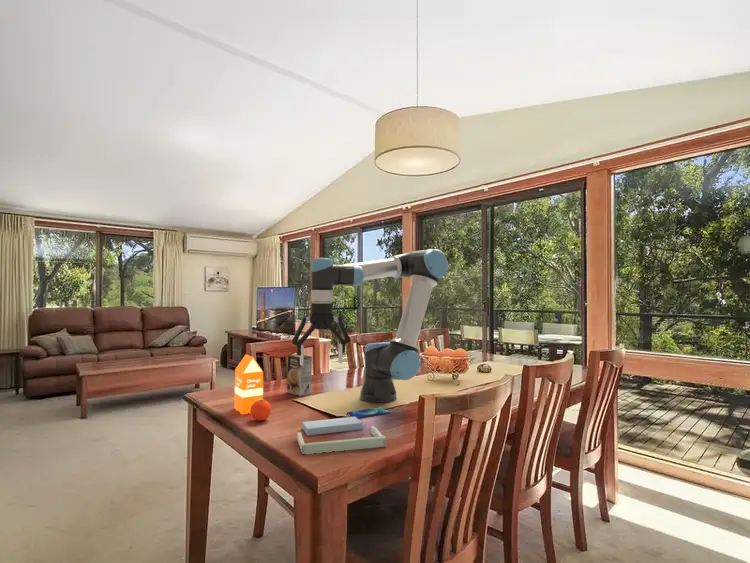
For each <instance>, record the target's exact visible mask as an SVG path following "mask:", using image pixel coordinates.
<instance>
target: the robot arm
mask: <svg viewBox="0 0 750 563" xmlns="http://www.w3.org/2000/svg"><path fill="white" fill-rule="evenodd" d="M310 266H311V270H310V277H311V278H310V279H311V280H310V282H311V284H310V285H311V286H310V287H311V288H310V290H311V292H310V302H312V303H310V317H309V316H307V317H306V316H301V318H300V324H299V326H298V327H297V329H296V331H295V333H294V336H293V337H292V340H291V343H292V344H293V345H295V346H296V355H300V365H301V366H303V355H304V351H305V350H304V345H303V344H304V343H305V341H306V340H307V339H308V338H309V336H310V335H311V334H312V333H313V332H314V331H315V330H318V331H319V330H325V331H326V330H329V331H330V332H331V333H332V334H333V336H334V337H335V338H336V339H337V340H338V341H339V343H338V348H337V349H338V354H337V355H338V356H337V357H338V359H337V360H338V363H339V364H341V365H342V364H343V354H345V353H346V344H348V343H350V342H351V338H350V336H349V334H348V332H347V329H346V328H345V326H344V323H343V319H342V316H340V315H337V316H334V315H333V313H334V311H333V310H334V309H333V308H334V307H333V303H332V302H333V301H334V298H333V297H334V293H333V292H334V286H335V287H336V286H337V287H339V286H341V287H355V286H361V285H362V284H363V282H364V281H370V280H375V279H376V280H377V279H381V278H388V277H392V278H394V279H397V278H399V279H400V278H410V280H411V284H410V288H409V292H408V295H407V299H406V302H405V304H404V308H403V312H402V315H401V317H400V321H399V325H398V328H397V330H396V335H395V337H394V338H392V339H391V340H390V341H387V342H373V343H372V342H370V343H367V344H366V345H365V348H364V349H365V350H364V380H363V383H362V386H361V388H360V393H359V394H360V395H359V396H360V399H361V400H363V401H366V402H371V403H388V402H393V401H395V400H397V390H396V387H395V383H394V380H393V379H395V380H398V381H399V380H401V381H409V380H411V379H412V378H414V377H415V376H417V374H418V372H419V371H420V368H421V363H422V362H421V357H420V354H418V353H419V347H418V344H417V343H418V339H419V336H420V333H421V329H422V326H423V322H424V318H425V315H426V312H427V308H428V304H429V301H430V298H431V294H432V290H433V288H435V287H436V286H438V283H439V280H440V278H443V277H444V276H445V275H446V274H447V273H448V270H449V262H448V259H447V257H446V254H444V252H443V251H441V250H440V249H438V248H435V249H434V248H428V249H421V250H412V251H408V252H405V253H400V254H395V255H392V256H390V257H389V258H384V259H377V260H376V259H375V260H368V261H362V262H361V261H360V262H354V263H344V264H334V259H333V258H330V257H316V258H313V259H312V261H311V265H310ZM308 322H309V323H310V324H311V325H310V326H309V327H308V329H307V330H305V333H303V335H302V332H303V330H304V328H305V326H306V324H308ZM334 322H335V323H336V324H337V326H338V328H339V331H340V332H341V334H342V335H341V334H339V332H338V331H337V330H336V328H335V327H334V326H333V325H332V324H333V323H334ZM301 335H302V336H301ZM300 336H301V337H300Z"/></svg>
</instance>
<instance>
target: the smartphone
mask: <svg viewBox="0 0 750 563" xmlns="http://www.w3.org/2000/svg"><path fill="white" fill-rule="evenodd" d="M347 414H349V415H350V416H352V417H356V418H357V419H358V420H359V419H366V418H370V417H371V418H372V417H377V416H385V415H388V414H391V410H389V409H386V408H385V407H383V406H377V407H371V408H365V409H357V410H351V411H347V412H346V415H347ZM349 415H348V416H349ZM350 416H349V417H350Z"/></svg>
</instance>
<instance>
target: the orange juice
mask: <svg viewBox="0 0 750 563" xmlns="http://www.w3.org/2000/svg"><path fill="white" fill-rule="evenodd" d="M234 371H235V372H234V373H235V375H234V408H235V409H236V410H235V409H234V410H235V411H237V412H238V411H239V412H240V414H241V415H242V414H243V415H248V413H249V414H251V413H250V410H251V406H252V404H253V403H254V402H256V401H257V400H259V399H263V400H264V398H263V397H264V371H263V370H262V368H261V367H260V365H259V364H258V362H257V361H256V359H255V358H254V356H251V355H249V354H245V355H244V356H243V358H242V359H241V361H240V362H239V363H238V365H237V366H236V367H235V369H234ZM239 412H238V413H239Z"/></svg>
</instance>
